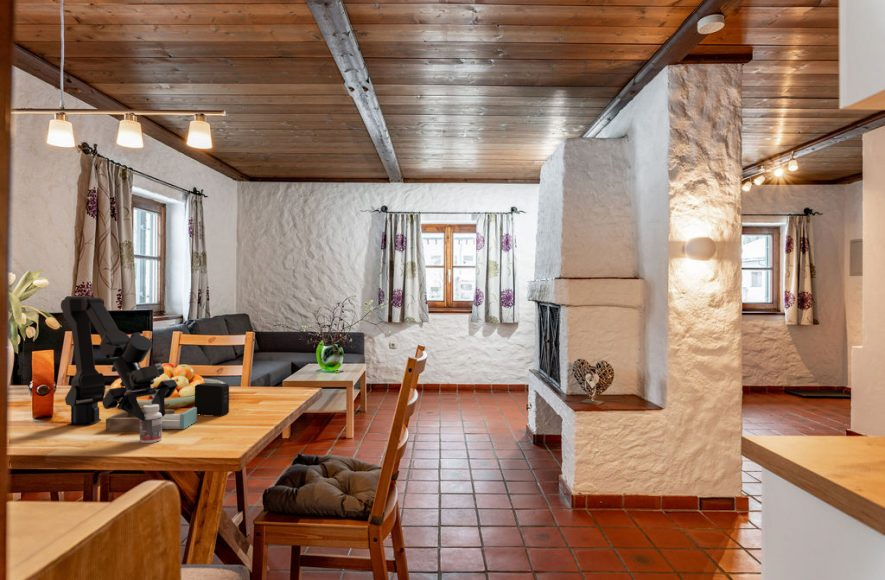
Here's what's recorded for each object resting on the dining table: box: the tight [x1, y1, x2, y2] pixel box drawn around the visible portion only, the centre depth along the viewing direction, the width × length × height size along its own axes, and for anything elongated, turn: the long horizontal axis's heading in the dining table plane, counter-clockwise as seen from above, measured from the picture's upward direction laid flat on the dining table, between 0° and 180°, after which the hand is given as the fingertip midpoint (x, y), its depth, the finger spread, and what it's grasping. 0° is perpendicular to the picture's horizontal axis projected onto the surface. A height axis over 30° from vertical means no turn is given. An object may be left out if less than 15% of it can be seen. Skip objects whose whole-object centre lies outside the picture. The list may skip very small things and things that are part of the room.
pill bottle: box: [139, 403, 163, 444], centre depth 150 cm, size 5×5×10 cm
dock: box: [105, 409, 175, 432], centre depth 166 cm, size 14×12×4 cm
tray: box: [162, 406, 198, 430], centre depth 166 cm, size 13×9×4 cm
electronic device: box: [194, 382, 230, 417], centre depth 181 cm, size 4×10×10 cm, turn 78°
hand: (154, 417), depth 149 cm, fingers closed on pill bottle, 5 cm apart
